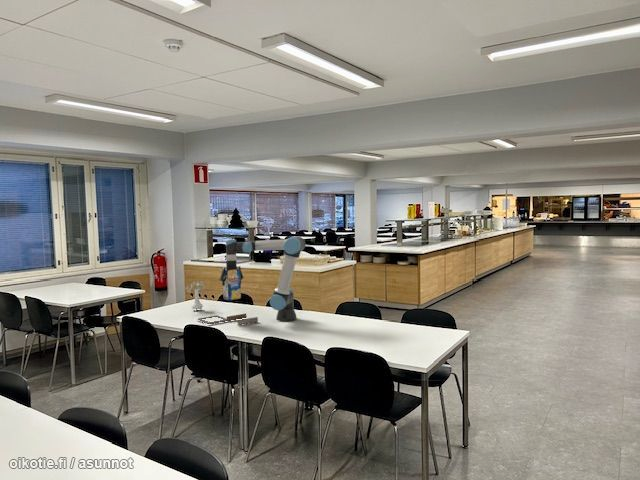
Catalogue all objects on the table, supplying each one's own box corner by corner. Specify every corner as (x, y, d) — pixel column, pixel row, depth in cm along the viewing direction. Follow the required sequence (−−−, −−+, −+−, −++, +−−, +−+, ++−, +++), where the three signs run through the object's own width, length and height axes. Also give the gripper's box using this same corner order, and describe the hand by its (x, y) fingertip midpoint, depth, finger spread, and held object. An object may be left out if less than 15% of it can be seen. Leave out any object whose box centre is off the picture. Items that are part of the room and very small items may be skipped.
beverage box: (223, 299, 345) (222, 269, 344) (235, 297, 353) (235, 268, 352) (228, 300, 340) (227, 270, 339) (241, 298, 348) (240, 269, 347)
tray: (228, 321, 348) (228, 319, 348) (208, 325, 338) (208, 322, 338) (217, 317, 364) (217, 315, 364) (197, 321, 354) (197, 318, 354)
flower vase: (183, 312, 389) (182, 282, 388) (198, 308, 406) (197, 279, 405) (195, 313, 384) (194, 283, 382) (210, 309, 400) (209, 280, 399)
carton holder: (257, 322, 344) (257, 317, 343) (238, 326, 334) (238, 320, 334) (245, 318, 358) (245, 313, 358) (226, 321, 348) (226, 316, 348)
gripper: (243, 258, 355) (243, 287, 356) (214, 260, 341) (215, 290, 342) (247, 259, 349) (248, 288, 350) (219, 261, 335) (219, 291, 336)
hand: (231, 289), depth 346 cm, fingers closed on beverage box, 11 cm apart
